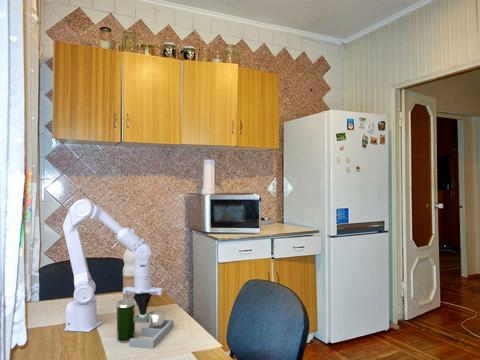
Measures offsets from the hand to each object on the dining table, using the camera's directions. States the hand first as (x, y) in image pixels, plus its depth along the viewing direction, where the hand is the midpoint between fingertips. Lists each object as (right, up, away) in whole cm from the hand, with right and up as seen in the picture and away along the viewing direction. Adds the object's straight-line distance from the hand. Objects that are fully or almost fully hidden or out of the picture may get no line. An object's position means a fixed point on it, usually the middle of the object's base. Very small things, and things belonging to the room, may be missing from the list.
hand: (143, 314), depth 132 cm
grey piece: (+7, -2, -14) cm, 16 cm away
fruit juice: (-9, -3, +20) cm, 22 cm away
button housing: (0, -2, 0) cm, 2 cm away
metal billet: (+7, -2, -10) cm, 12 cm away
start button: (0, -3, 0) cm, 3 cm away
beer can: (-1, -2, -17) cm, 17 cm away
